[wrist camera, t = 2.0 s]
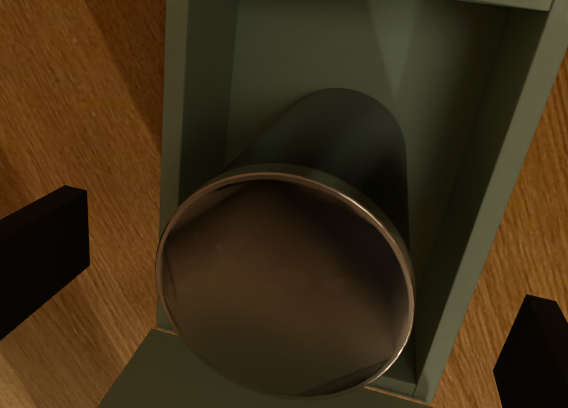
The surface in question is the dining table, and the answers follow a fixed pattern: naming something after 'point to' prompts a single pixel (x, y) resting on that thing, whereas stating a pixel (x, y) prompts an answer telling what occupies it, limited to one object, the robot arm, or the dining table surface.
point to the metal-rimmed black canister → (298, 254)
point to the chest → (396, 98)
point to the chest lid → (208, 384)
